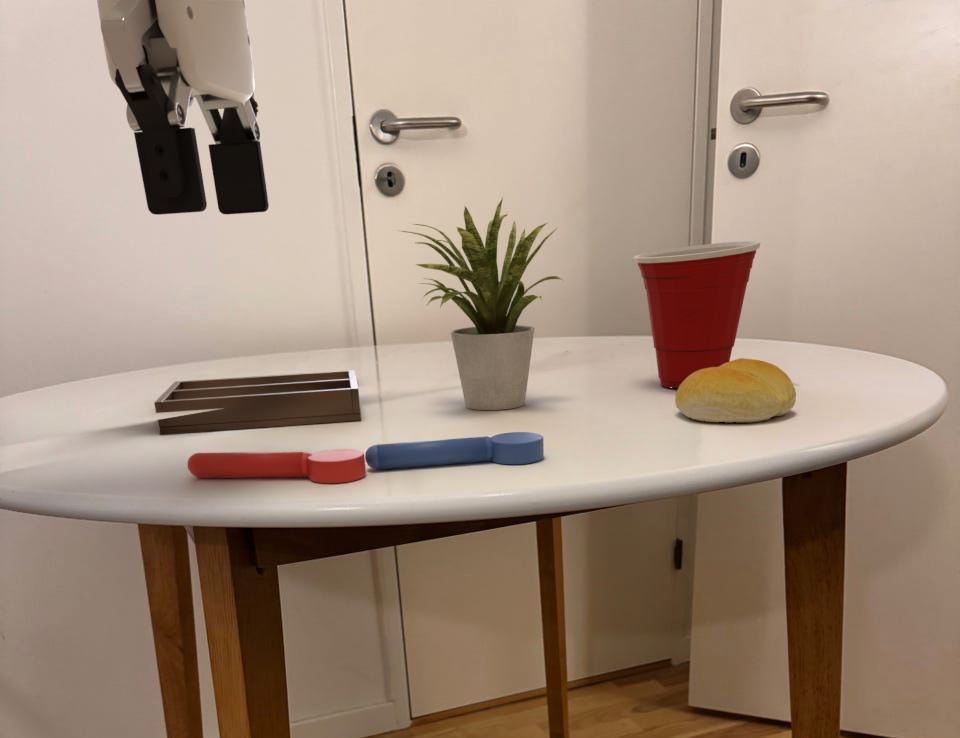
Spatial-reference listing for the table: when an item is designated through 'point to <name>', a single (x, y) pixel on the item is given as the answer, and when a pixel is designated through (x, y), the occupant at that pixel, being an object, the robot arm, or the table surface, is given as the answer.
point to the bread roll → (736, 392)
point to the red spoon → (282, 465)
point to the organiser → (260, 402)
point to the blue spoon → (458, 451)
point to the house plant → (490, 314)
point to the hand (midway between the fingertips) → (214, 212)
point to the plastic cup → (695, 304)
